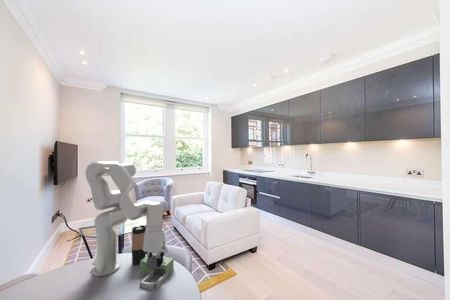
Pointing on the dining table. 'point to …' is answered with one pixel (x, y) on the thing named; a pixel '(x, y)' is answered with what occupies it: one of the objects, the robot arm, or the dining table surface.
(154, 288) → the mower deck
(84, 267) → the dining table surface
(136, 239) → the travel mug
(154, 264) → the ridged grey block
